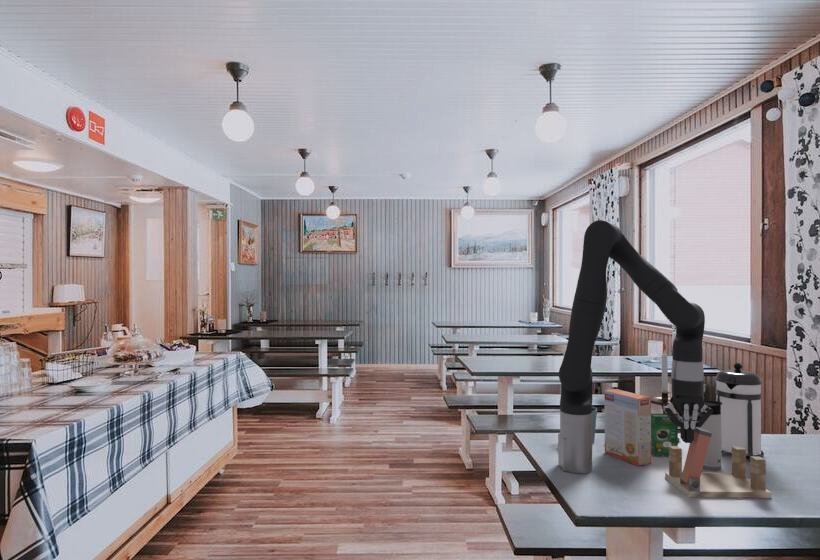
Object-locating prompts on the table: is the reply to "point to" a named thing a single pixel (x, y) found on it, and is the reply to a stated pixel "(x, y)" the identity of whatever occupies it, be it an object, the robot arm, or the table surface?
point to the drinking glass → (593, 422)
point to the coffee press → (740, 410)
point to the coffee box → (662, 435)
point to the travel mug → (713, 436)
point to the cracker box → (628, 426)
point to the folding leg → (696, 455)
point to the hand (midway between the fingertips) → (687, 442)
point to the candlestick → (663, 385)
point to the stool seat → (722, 477)
